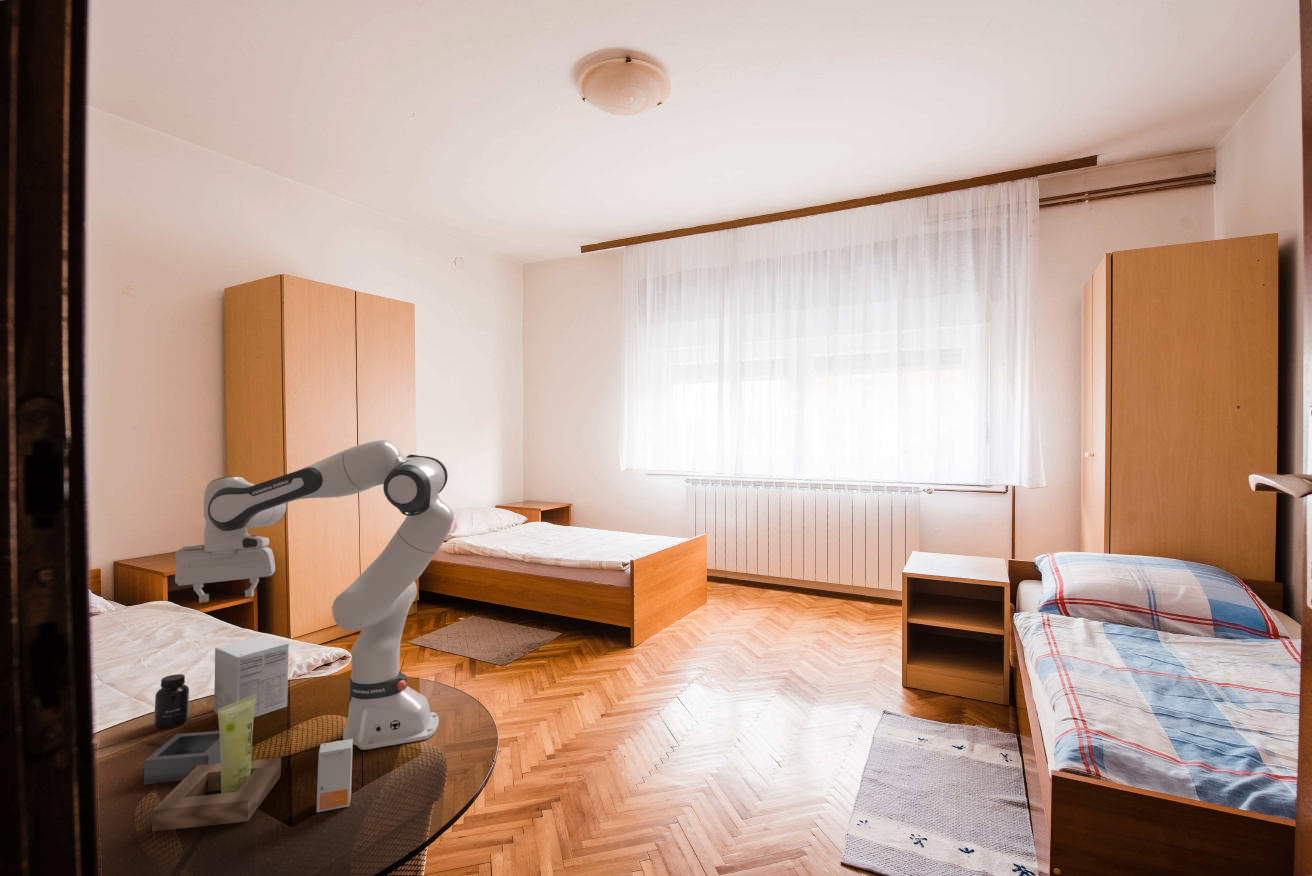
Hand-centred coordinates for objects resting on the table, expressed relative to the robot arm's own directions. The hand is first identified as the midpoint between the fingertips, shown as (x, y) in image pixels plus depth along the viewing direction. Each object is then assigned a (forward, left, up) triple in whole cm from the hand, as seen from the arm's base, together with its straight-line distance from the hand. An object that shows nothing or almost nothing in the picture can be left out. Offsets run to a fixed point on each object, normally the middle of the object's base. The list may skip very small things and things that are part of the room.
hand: (226, 599), depth 147 cm
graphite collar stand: (+1, +12, -35) cm, 37 cm away
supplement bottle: (+17, -12, -35) cm, 41 cm away
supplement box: (+1, -18, -35) cm, 39 cm away
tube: (-13, +26, -35) cm, 45 cm away
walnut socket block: (-12, +28, -35) cm, 46 cm away
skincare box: (-34, +33, -35) cm, 59 cm away
